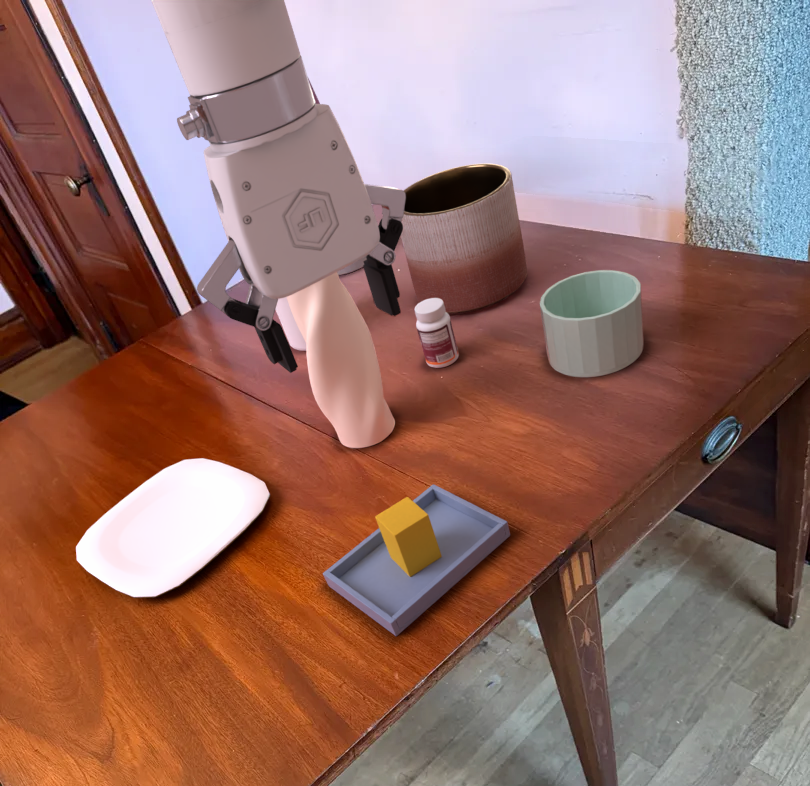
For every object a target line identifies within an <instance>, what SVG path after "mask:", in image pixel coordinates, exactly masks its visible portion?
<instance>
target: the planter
mask: <svg viewBox="0 0 810 786" xmlns="http://www.w3.org/2000/svg"><path fill="white" fill-rule="evenodd" d="M514 186H515V185H514V180H513V174H512V172H511V170H510V169H509V168H508V167H506V166H504V165H501V164H497V163H472V164H467V165H460V166H456V167H452V168H449V169H445V170H441V171H439V172H435V173H433V174H431V175H428V176H426V177H424V178H421V179H419V180H417V181H415V182H414V183H412V184H410V185H409V186H407V187H406V188H404V189H402V190H403V191H404V192H405V194H406V200H405V207H404V214H403V218H402V222H401V223H402V225H403V231H402V233H401V236H400V239H401V243H402V246H403V250H404V254H405V258H406V262H407V267H408V270H409V274H410V279H411V283H412V287H413V290H414V294H415V297H416V300H417V302H418V303H420V302H422V301H424V300H426V299H430V298H439V299H442V300H443V302H444V306H445V310H446V312H447V313H448V314H449V315H454V314H455V315H456V314H463V313H464V314H466V313H472V312H476V311H480V310H483V309H486V308H489V307H491V306H493V305H496V304H498V303H500V302H502V301H504V300H506V299H507V298H509V297H510V296H511V295H513V294H514V293H516V292H517V290H518V289H519V288H520V287H521V286H522V285H523V283H524V282H525V281H526V278H527V275H528V267H527V266H528V265H527V258H526V251H525V246H524V245H525V244H524V239H523V234H522V227H521V222H520V217H519V211H518V205H517V199H516V194H515V188H514Z"/></svg>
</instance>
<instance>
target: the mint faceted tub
mask: <svg viewBox="0 0 810 786" xmlns="http://www.w3.org/2000/svg"><path fill="white" fill-rule="evenodd" d="M642 299H643V298H642V284H641V282H640V280H638V277H636V276H635V275H632V274H630V273H628V272H626V271H622V270H621V271H620V270H615V269H612V270H611V269H598V270H590V271H584V272H580V273H576V274H573V275H570V276H567V277H566V278H564V279H561V280H559V281H557V282H555V283H554V284H553V285H551V286H550V287H549V288H547V289H546V290H545V292H544V293H543V294H542V295H541V297H540V300H539V310H540V317H541V324H542V329H543V337H544V344H545V349H546V350H545V352H546V356H547V360H548V363H549V366H550V367H552V369H553V370H554V371H556V372H558V373H560V374H562V375H565V376H568V377H573V378H574V377H575V378H596V377H601V376H606V375H611V374H614V373H616V372H619V371H621V370H623V369H625V368H628V367H629V366H630V365H632V364H633V363H635V362H636V361H637V359H638V358H639V357H640V356H641V354H642V353H643V350H644V325H643V324H644V322H643V301H642Z"/></svg>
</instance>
